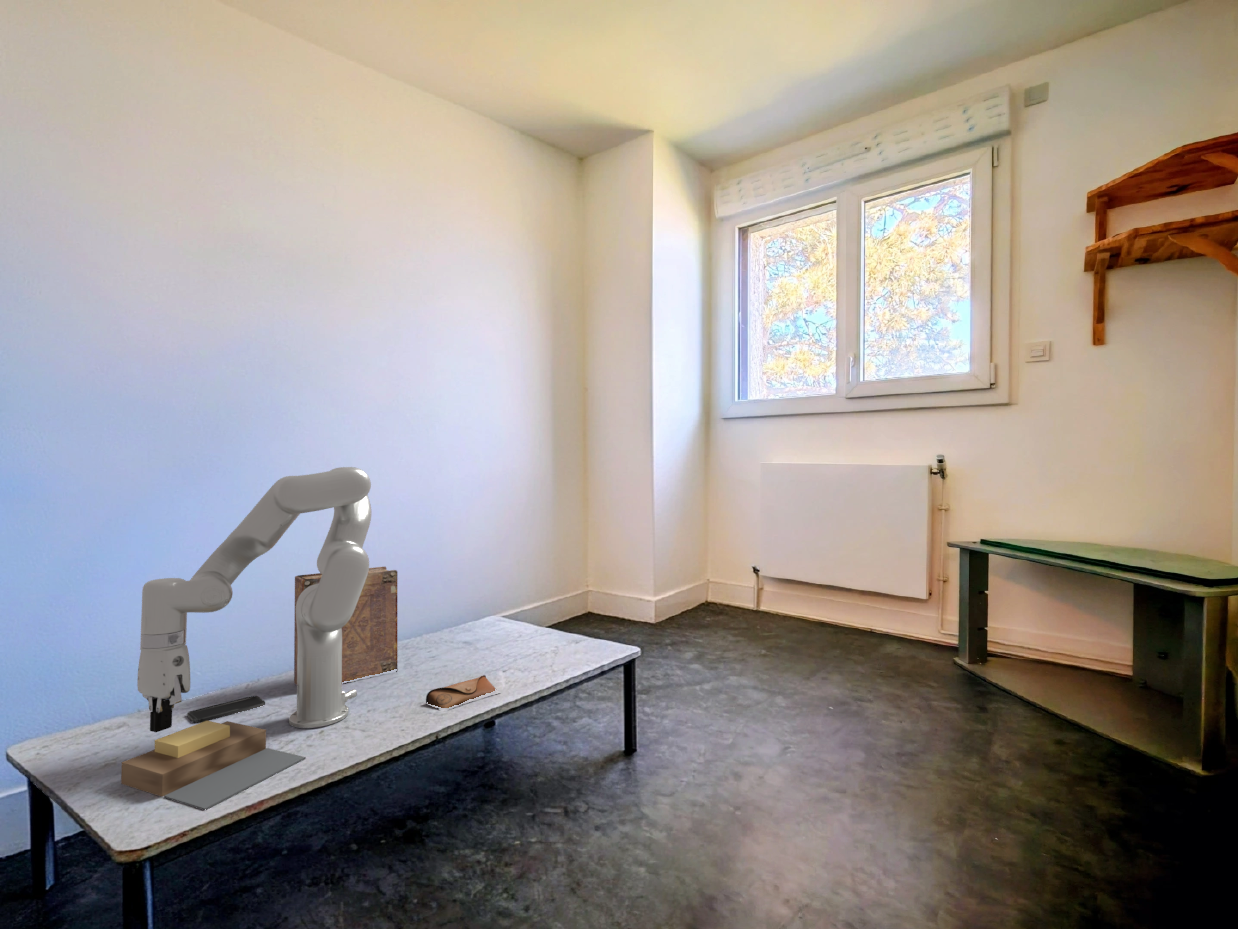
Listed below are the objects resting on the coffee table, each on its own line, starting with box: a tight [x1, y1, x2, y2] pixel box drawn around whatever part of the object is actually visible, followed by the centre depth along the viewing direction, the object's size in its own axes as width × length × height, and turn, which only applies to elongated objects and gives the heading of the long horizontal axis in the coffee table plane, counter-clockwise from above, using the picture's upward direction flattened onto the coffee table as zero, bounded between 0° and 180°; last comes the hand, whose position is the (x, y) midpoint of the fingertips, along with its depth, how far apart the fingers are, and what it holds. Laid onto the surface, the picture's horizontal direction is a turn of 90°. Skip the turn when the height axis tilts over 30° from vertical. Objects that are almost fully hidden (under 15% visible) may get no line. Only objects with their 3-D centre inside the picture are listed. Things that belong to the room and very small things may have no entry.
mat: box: [163, 747, 307, 811], centre depth 113 cm, size 20×11×1 cm, turn 158°
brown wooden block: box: [120, 720, 267, 798], centre depth 117 cm, size 20×12×4 cm, turn 158°
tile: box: [154, 720, 230, 758], centre depth 118 cm, size 10×7×2 cm
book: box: [293, 566, 398, 686], centre depth 168 cm, size 25×9×30 cm, turn 132°
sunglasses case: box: [425, 674, 496, 708], centre depth 153 cm, size 18×7×7 cm
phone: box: [186, 695, 266, 724], centre depth 145 cm, size 8×1×15 cm
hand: (160, 729), depth 121 cm, fingers closed
